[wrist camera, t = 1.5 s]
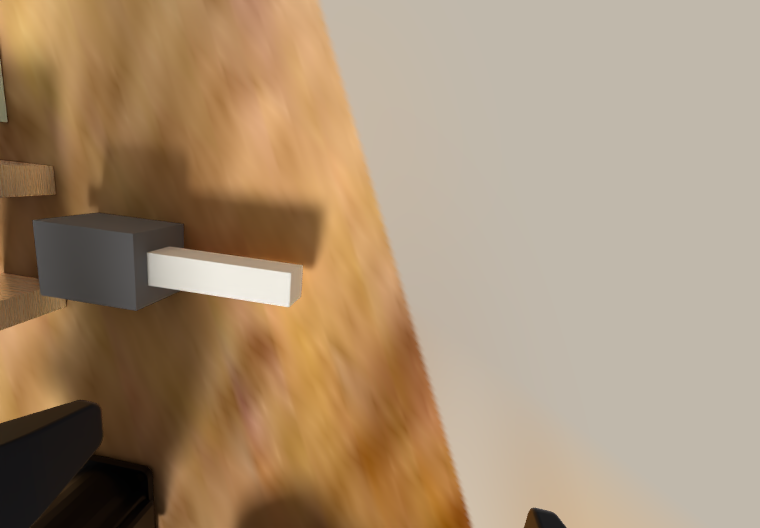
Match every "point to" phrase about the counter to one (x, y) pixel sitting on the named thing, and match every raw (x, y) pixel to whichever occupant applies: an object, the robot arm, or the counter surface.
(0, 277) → the housing
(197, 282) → the plug
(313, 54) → the counter surface
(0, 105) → the mat
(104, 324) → the counter surface
